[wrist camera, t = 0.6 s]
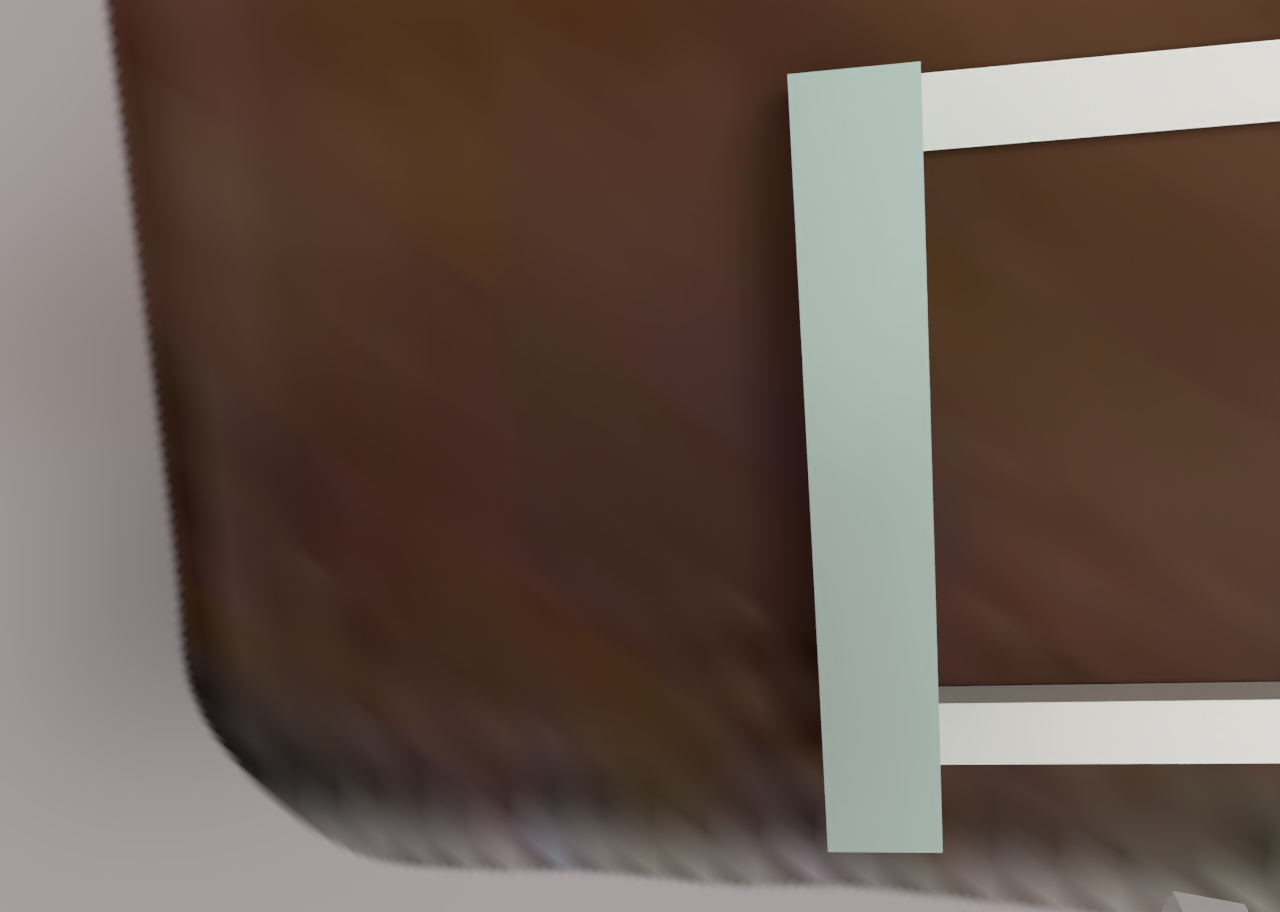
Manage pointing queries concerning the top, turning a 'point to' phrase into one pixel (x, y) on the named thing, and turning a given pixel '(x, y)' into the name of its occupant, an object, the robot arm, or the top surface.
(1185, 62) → the guide track
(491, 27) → the top surface
